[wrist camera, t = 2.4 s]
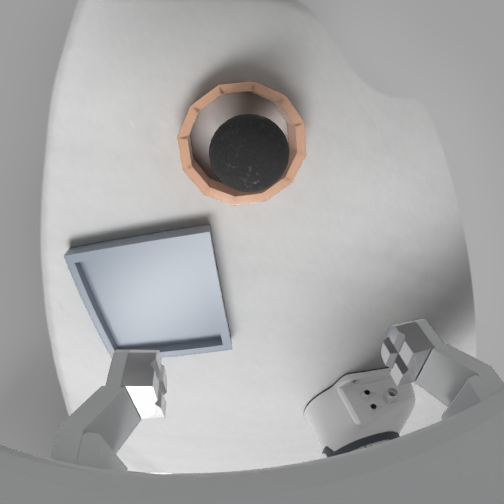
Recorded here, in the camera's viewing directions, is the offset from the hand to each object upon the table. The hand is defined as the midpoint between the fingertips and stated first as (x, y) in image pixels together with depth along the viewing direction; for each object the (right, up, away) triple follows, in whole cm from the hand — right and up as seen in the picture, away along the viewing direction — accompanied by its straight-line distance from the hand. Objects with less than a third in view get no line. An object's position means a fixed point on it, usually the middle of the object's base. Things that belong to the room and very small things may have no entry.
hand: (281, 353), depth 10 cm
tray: (-12, -2, +24) cm, 27 cm away
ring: (-2, +14, +17) cm, 22 cm away
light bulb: (-2, +14, +17) cm, 22 cm away
